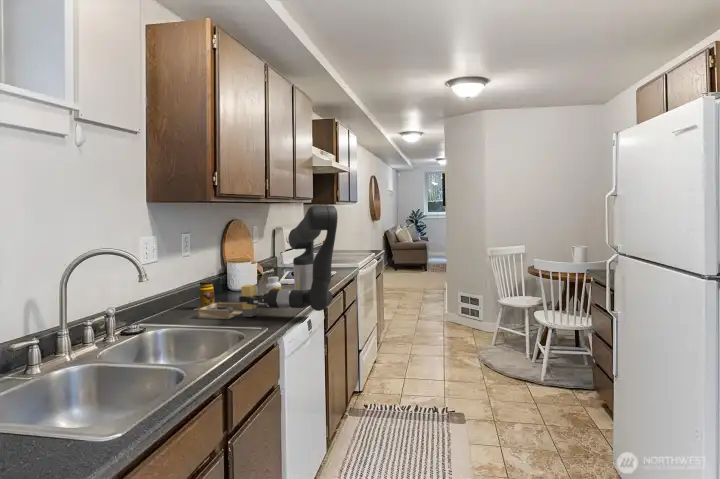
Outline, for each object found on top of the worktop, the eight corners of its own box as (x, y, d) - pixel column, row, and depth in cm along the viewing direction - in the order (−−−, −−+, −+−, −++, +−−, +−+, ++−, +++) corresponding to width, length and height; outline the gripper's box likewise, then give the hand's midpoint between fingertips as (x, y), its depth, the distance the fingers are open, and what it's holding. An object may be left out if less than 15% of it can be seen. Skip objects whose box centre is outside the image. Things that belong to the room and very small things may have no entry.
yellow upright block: (248, 314, 196) (246, 284, 195) (257, 314, 195) (255, 284, 194) (243, 316, 192) (241, 286, 191) (252, 316, 191) (250, 286, 190)
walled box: (216, 310, 208) (216, 302, 207) (245, 311, 204) (245, 303, 203) (197, 318, 194) (196, 309, 194) (227, 319, 190) (227, 310, 190)
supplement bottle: (284, 304, 214) (283, 276, 213) (278, 308, 208) (276, 278, 207) (271, 304, 216) (269, 276, 215) (264, 307, 210) (262, 278, 209)
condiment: (212, 309, 210) (210, 282, 209) (193, 310, 210) (191, 283, 209) (218, 306, 217) (216, 280, 216) (199, 306, 218) (198, 280, 217)
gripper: (288, 285, 195) (250, 285, 200) (273, 292, 182) (232, 292, 186) (289, 304, 196) (251, 303, 201) (274, 312, 182) (233, 311, 187)
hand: (242, 298), depth 193 cm, fingers closed on yellow upright block, 4 cm apart
